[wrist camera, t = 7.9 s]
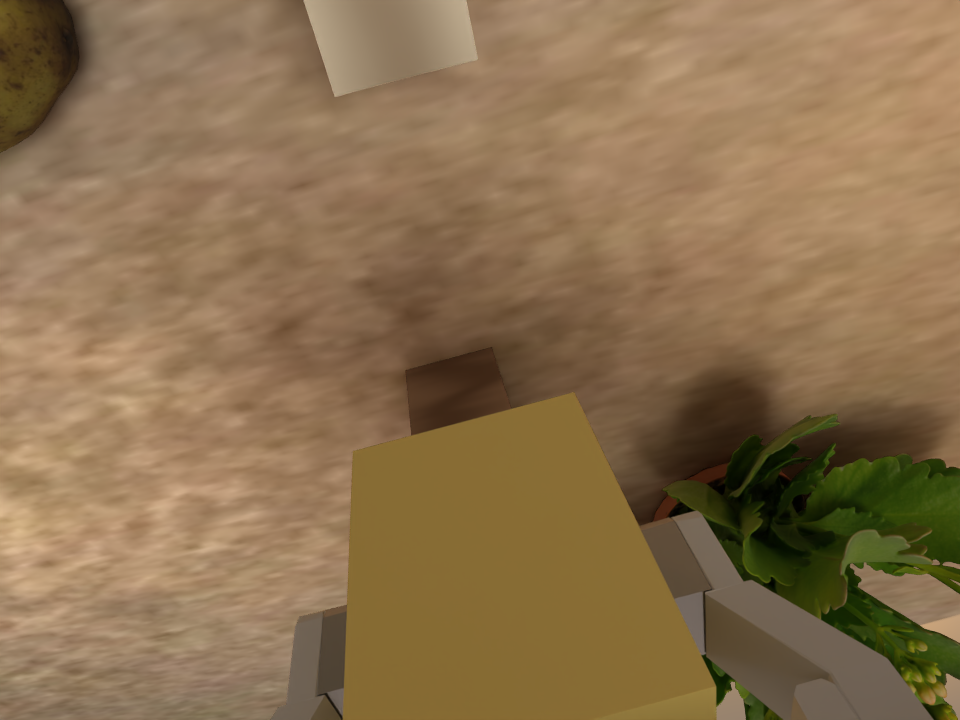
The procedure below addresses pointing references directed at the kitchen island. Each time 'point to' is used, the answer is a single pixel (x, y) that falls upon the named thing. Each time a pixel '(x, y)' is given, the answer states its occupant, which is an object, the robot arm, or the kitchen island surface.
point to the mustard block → (509, 582)
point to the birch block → (389, 39)
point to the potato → (33, 64)
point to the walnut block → (455, 391)
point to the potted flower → (835, 545)
